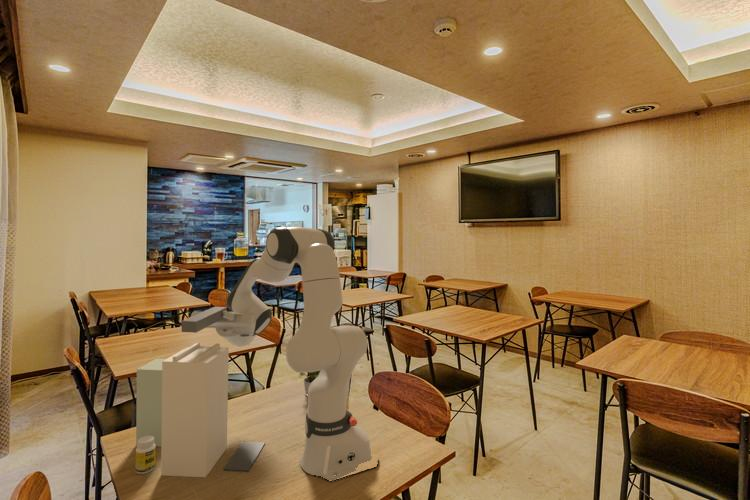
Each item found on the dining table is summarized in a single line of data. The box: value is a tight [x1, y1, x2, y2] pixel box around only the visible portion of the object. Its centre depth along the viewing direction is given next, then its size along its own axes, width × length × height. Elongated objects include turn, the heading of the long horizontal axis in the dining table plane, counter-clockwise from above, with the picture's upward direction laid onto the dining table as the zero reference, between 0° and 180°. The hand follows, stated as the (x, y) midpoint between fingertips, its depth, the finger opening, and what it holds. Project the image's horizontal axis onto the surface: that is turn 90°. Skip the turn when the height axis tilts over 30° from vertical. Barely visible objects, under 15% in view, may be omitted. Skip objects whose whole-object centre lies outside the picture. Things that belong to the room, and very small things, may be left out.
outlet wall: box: [160, 342, 230, 478], centre depth 109 cm, size 14×12×32 cm
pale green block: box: [135, 358, 167, 447], centre depth 120 cm, size 10×8×24 cm
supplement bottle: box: [134, 436, 157, 475], centre depth 104 cm, size 5×5×8 cm
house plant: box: [298, 370, 321, 395], centre depth 155 cm, size 14×14×16 cm
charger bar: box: [181, 306, 228, 334], centre depth 112 cm, size 20×4×3 cm, turn 179°
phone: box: [223, 441, 266, 473], centre depth 112 cm, size 14×7×1 cm, turn 178°
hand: (215, 312), depth 118 cm, fingers closed on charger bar, 4 cm apart
